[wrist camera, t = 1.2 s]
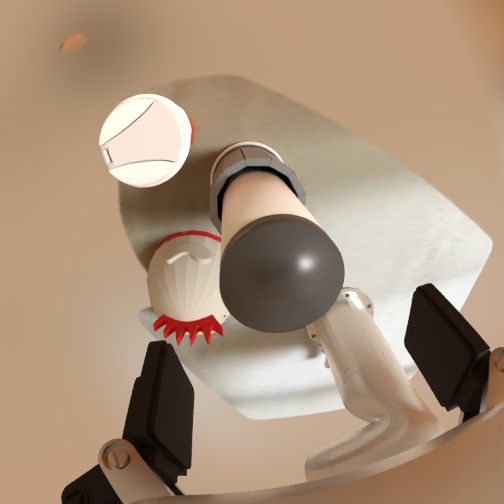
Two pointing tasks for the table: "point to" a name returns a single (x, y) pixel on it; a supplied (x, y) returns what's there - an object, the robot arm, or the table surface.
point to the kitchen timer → (187, 285)
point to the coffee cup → (145, 140)
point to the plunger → (274, 255)
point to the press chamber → (239, 159)
